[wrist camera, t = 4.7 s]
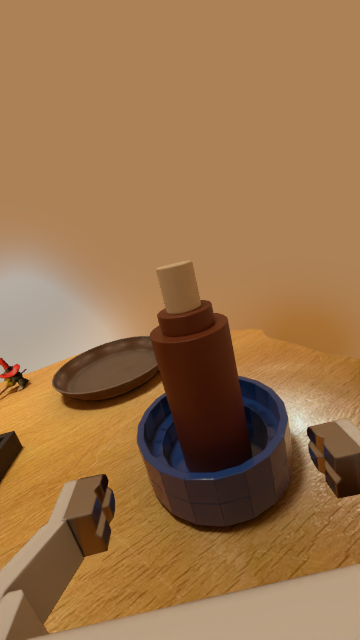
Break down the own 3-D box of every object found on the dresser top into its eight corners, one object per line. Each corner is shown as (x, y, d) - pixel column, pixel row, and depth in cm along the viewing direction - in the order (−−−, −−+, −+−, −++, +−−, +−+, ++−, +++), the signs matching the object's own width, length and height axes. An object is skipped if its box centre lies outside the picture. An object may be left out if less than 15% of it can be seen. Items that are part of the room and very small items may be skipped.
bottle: (263, 471, 21) (226, 255, 16) (189, 491, 21) (128, 279, 16) (238, 421, 28) (206, 253, 23) (181, 437, 27) (134, 271, 22)
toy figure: (22, 416, 50) (-17, 411, 44) (12, 415, 51) (-27, 411, 46) (39, 365, 54) (5, 355, 48) (28, 366, 55) (-6, 357, 50)
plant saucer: (192, 351, 49) (189, 335, 48) (115, 423, 33) (107, 401, 32) (119, 347, 61) (114, 334, 60) (35, 399, 45) (28, 383, 44)
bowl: (329, 503, 19) (324, 449, 17) (151, 555, 18) (131, 503, 17) (257, 400, 31) (251, 364, 30) (151, 428, 31) (140, 393, 29)
